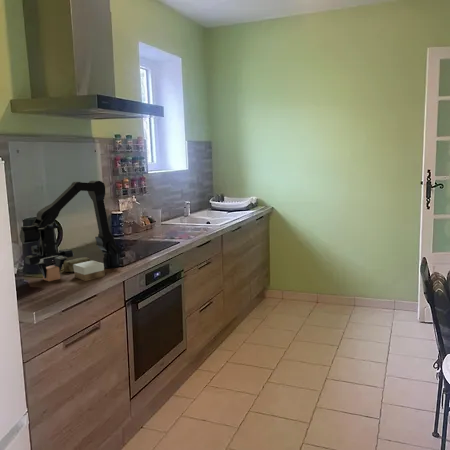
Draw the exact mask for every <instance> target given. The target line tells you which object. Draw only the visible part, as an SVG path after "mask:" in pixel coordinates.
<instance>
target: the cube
mask: <svg viewBox="0 0 450 450" xmlns="http://www.w3.org/2000/svg"><path fill="white" fill-rule="evenodd" d="M46 274H47V275H46V278H44V276H43V275H42V279H43V280H44V281H47V282H53V281H56V280H60V279H61V270H60V271H59V267H57V266H56V265H49V266H46Z"/></svg>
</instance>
